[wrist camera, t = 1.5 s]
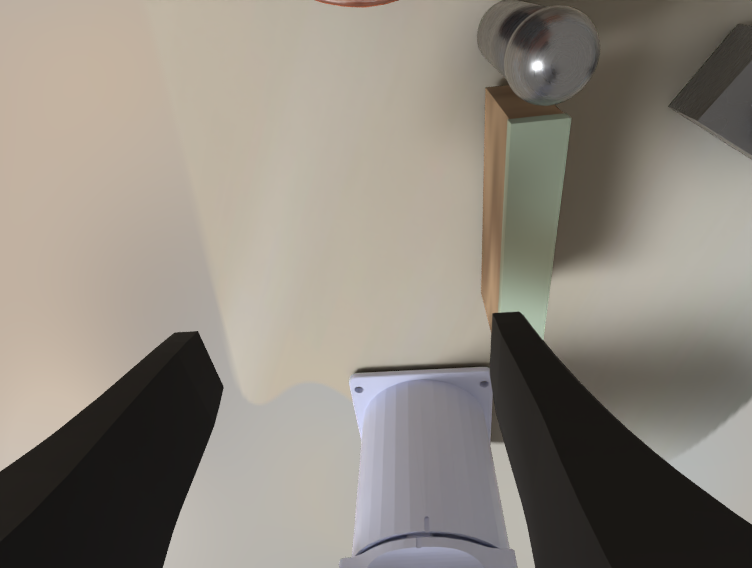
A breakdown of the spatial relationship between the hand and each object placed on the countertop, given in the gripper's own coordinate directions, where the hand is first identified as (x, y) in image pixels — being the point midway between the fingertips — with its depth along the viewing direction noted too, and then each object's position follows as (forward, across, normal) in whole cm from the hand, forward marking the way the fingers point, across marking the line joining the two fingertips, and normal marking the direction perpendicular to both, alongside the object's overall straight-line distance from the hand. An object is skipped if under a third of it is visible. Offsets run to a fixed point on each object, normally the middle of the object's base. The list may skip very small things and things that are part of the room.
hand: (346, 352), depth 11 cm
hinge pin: (+10, -6, -5) cm, 13 cm away
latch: (+10, -14, -2) cm, 18 cm away
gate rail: (+9, -5, +1) cm, 11 cm away
